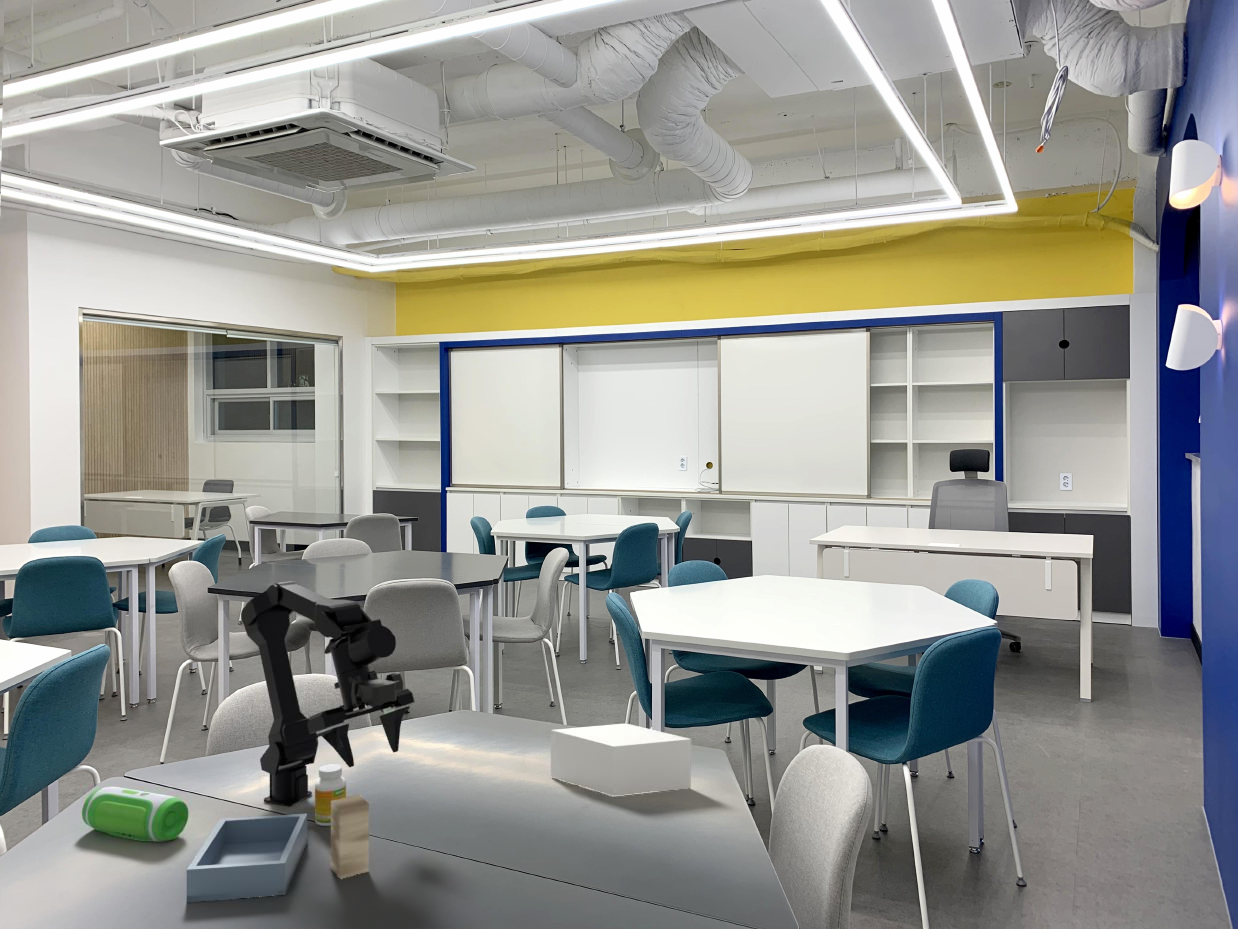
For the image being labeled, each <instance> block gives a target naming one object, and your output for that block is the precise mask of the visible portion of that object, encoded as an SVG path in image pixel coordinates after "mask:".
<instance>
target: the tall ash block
mask: <svg viewBox="0 0 1238 929" xmlns="http://www.w3.org/2000/svg"><path fill="white" fill-rule="evenodd" d="M369 841H370V803H369V802H368V801H367V800H366V799H364V797H362V796H361V794H355V795H349V796H346V798H341V799H337V800H333V801H331V826H330V869H331V870H332V872H333V873H334V872H335V873H336V874H337V875H336V874H335V873H334V874H335V875H336V876H337V878H340V879H341V880H344V879H343V878H345V879H347V878H346V877H348V878H351V877H355V876H357V875H356V874H358V875H362V874H364V873H369V871H370V866H369V865H370V847H369V846H370V842H369ZM361 873H362V874H361ZM354 875H355V876H354ZM350 876H351V877H350ZM340 879H339V880H340Z"/></svg>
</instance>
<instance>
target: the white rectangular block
mask: <svg viewBox="0 0 1238 929" xmlns="http://www.w3.org/2000/svg"><path fill="white" fill-rule="evenodd" d="M551 776H552V777H555V778H557V779H561V780H564V781H566V782H570V783H574V784H577V785H581V786H583V787H588V788H591V789H594V790H597V791H600V792H604V793H607V794H610V795H625V794H634V793H642V792H650V791H665V790H675V789H685V790H689V789H688V788H691V787H692V786H691V785H692V780H691V779H692V778H691V777H692V739H691V738H688V737H684V736H680V735H675V734H673V733H672V734H671V733H667V732H664V731H658V730H655V729H652V728H651V729H650V728H646V727H642V726H639V725H635V724H630V723H615V724H604V725H593V726H581V727H572V728H571V727H570V728H559V729H558V728H557V729H551V730H550V777H551Z"/></svg>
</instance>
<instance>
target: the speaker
mask: <svg viewBox="0 0 1238 929" xmlns="http://www.w3.org/2000/svg"><path fill="white" fill-rule="evenodd" d="M81 817H82V820H83V822H84V823H85V824H86V825H87V826H88V827H90V828H91V829H93V830H96V831H99V832H102V833H106V834H108V835H111V836H115V837H120V838H125V839H131V840H135V841H141V842H166V841H171V840H174V839H176V838H177V837H179V835H181V833H182V832H183V831H184V829H185V827H186V826H187V823H188V820H189V808H188V806H187V804H186V803H185V802H184V801H183V800H181V799H180V798H178V797H175V796H173V795H169V794H167V795H166V794H163V793H158V792H157V793H156V792H151V791H143V790H137V789H132V788H125V787H119V786H105V787H100V788H97V789H95V790H94V791H93V792H91V793H90V794H89V795H88V797H87V798H86V799H85V801H84V803H83V806H82V810H81Z"/></svg>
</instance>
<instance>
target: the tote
mask: <svg viewBox="0 0 1238 929" xmlns="http://www.w3.org/2000/svg"><path fill="white" fill-rule="evenodd" d="M307 843H308V813H297V814H295V813H294V814H293V813H292V814H279V815H278V814H277V815H261V816H243V817H227V818H220V819H219V821H218V822H217V824H216V825H215V827H214V828H213V830H212V831H211V833H210V834H209V836H208V837H207V839H206V840H205V842H204V843H203V844H202V846H201V847H200V849H199V851H198V852H197V854H196V855H195V857H194V858H193V860H192V861H191V862H190V864H189V865H188V867H187V868H186V903H187V902H188V903H189V902H191V903H202V902H203V901H205V902H215V900H218V901H228V900H230V899H232V900H240V899H239V898H246V899H249V898H248V897H251V898H250V899H253V898H252V897H259V896H260V897H259V898H262V897H261V896H272V895H285V894H287V892H288V890H289V887H290V885H291V882H292V880H293V878H292V877H294V875H295V873H296V870H297V868H298V866H297V865H299V863H300V861H301V859H302V855H303V854H304V850H305V848H306V846H307ZM289 884H290V885H289ZM287 889H288V890H287ZM285 896H286V895H285ZM237 898H238V899H237ZM209 900H210V901H209ZM197 901H198V902H197ZM201 901H202V902H201ZM230 901H231V900H230ZM203 903H204V902H203ZM189 904H190V903H189Z"/></svg>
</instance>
